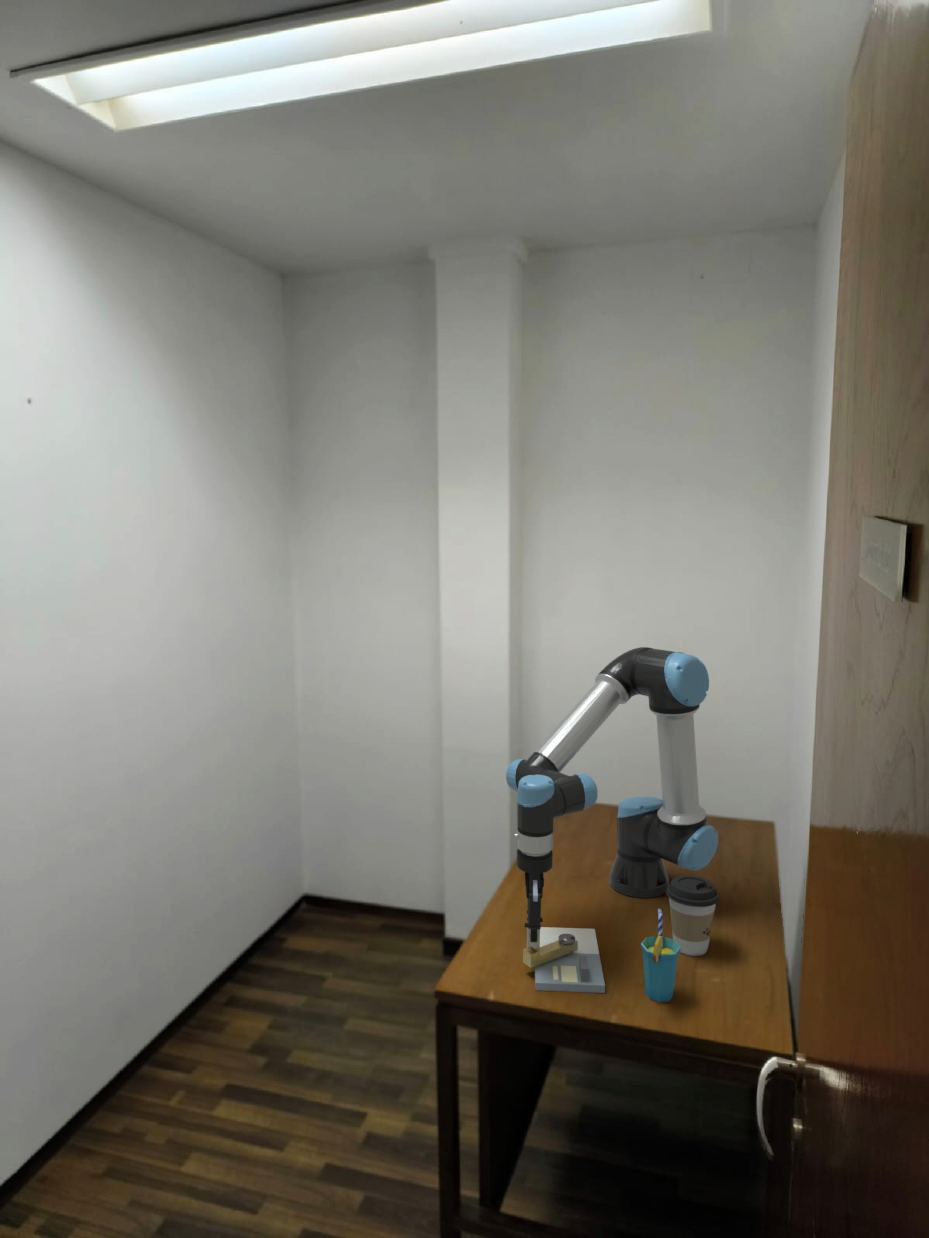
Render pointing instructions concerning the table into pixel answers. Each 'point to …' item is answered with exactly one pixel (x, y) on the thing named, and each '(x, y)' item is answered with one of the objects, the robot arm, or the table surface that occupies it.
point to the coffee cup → (692, 912)
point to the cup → (660, 964)
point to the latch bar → (550, 950)
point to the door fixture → (571, 964)
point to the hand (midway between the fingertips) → (533, 952)
